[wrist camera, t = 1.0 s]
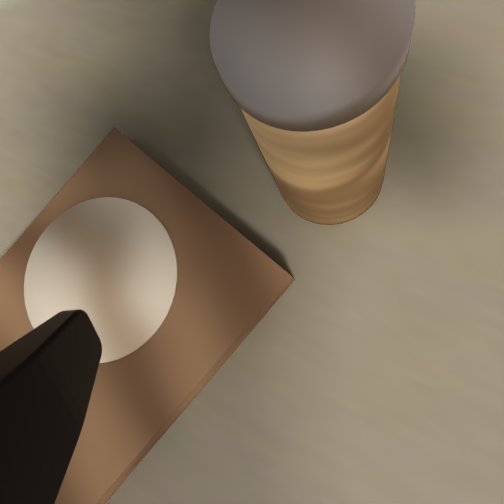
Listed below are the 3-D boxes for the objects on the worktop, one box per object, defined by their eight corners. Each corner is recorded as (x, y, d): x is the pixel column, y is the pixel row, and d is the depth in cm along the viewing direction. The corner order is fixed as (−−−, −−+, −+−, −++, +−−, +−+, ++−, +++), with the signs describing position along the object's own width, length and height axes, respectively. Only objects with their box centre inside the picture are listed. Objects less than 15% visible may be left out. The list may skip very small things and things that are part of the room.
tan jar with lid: (337, 248, 21) (320, 153, 11) (255, 184, 23) (170, 46, 12) (409, 164, 21) (461, -13, 11) (323, 105, 23) (295, -99, 12)
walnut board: (71, 542, 21) (48, 558, 20) (-65, 364, 25) (-94, 365, 23) (294, 279, 21) (289, 274, 20) (128, 140, 25) (112, 125, 23)
